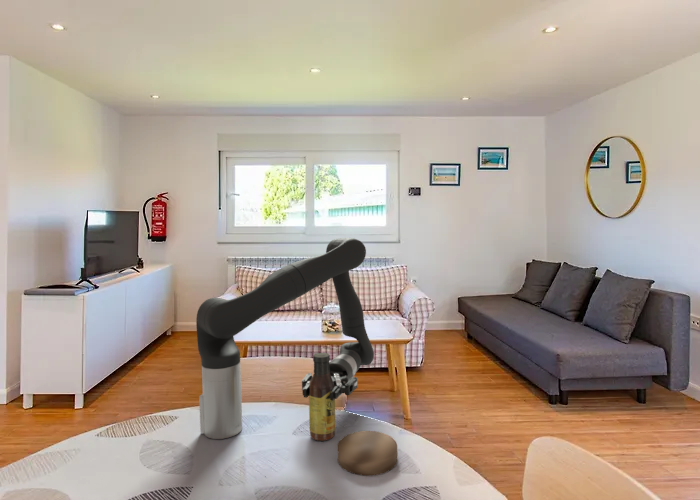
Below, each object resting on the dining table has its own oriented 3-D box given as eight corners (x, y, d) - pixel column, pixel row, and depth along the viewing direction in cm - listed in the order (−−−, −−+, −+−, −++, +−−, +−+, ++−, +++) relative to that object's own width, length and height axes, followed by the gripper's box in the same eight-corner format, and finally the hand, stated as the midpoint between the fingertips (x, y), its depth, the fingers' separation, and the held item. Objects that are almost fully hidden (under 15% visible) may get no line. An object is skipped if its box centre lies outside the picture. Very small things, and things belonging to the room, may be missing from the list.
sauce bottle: (332, 443, 101) (330, 360, 99) (306, 441, 102) (304, 358, 101) (338, 430, 107) (336, 351, 106) (314, 428, 108) (312, 350, 107)
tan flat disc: (329, 470, 90) (329, 456, 89) (347, 440, 102) (347, 427, 102) (391, 480, 86) (390, 465, 86) (402, 447, 98) (402, 434, 98)
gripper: (315, 356, 119) (289, 376, 103) (365, 359, 115) (347, 382, 99) (315, 382, 120) (290, 407, 104) (365, 387, 116) (347, 414, 100)
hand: (318, 395), depth 101 cm, fingers closed on sauce bottle, 6 cm apart
